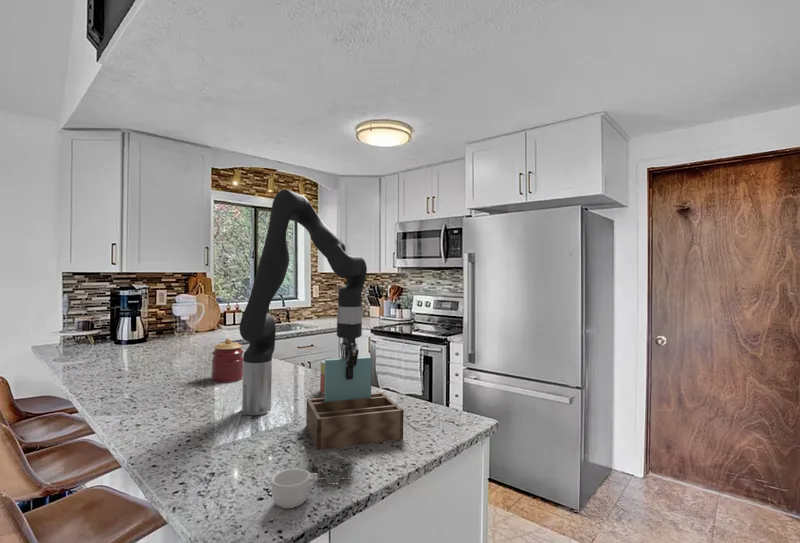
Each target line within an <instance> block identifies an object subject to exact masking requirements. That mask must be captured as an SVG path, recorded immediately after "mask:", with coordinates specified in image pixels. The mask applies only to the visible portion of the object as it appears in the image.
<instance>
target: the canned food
mask: <svg viewBox="0 0 800 543" xmlns="http://www.w3.org/2000/svg"><path fill="white" fill-rule="evenodd" d="M335 358H336V357H335ZM335 358H334V357H333V358H330V359H335ZM325 359H326V358H325ZM325 359H321V360H320V379H319V380H320V385H319V387H320V388H319V389H320V390H319V393H320V392H321V393H320V394H322V393H323V394H322V395H324V387H325Z"/></svg>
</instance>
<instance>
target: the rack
mask: <svg viewBox="0 0 800 543" xmlns="http://www.w3.org/2000/svg"><path fill="white" fill-rule="evenodd" d="M305 413H306V415H305V417H306V423H305V424H306V428H307V431H308V433H309V436H310V438H311V440H312V443H313V444H314V446H315V450H316V451H321V450H329V449H336V448H345V447H351V446H359V445H367V444H368V445H369V444H374V443H375V444H377V443H383V442H389V441H397V440H398V441H399V440H403V439H404V418H405V417H404V415H405V414H404V413H405V412H404V409H403V408H402V407H401V406H400V405H399V404H397V403H396V402H395V401H394V400H392V399H391V398H390V396H388V395H386V394H385V393H384V392H374V393H373V392H371V398H360V399H350V400H339V401H328V402H324V397H320V398H319V397H317V398H307V399H306V412H305Z"/></svg>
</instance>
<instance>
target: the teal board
mask: <svg viewBox="0 0 800 543" xmlns="http://www.w3.org/2000/svg"><path fill="white" fill-rule="evenodd" d="M372 359H373V358H372V356H358V357H357V363H356V366H354V367H353V379H351V380H347V379H346V366H345V365H346V359H344V358H341V357H337V358H336V357H335V359H331V358H325V387H324V394H323V395H324V397H323V398H324V402H328V401H339V400H350V399H360V398H371V394H372V371H373V370H372V367H373V366H372V364H373V362H372V361H373V360H372ZM350 362H352V361H350Z"/></svg>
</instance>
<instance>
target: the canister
mask: <svg viewBox="0 0 800 543" xmlns="http://www.w3.org/2000/svg"><path fill="white" fill-rule="evenodd" d="M242 347H243V345H242V344H241V343H238V342H236V341H235V342H234V341H233V342H232V339H231V338H226V339H225V341H224V342H220V343H218V344H216V345H215V346H214V347H213V348H214V350H213V351H211V355H212V360H211V375H210V376H211V380H212V382H215V383H232V382H237V381H241V380H243V355H244V352H245V351H244V350H243V349H242Z"/></svg>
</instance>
